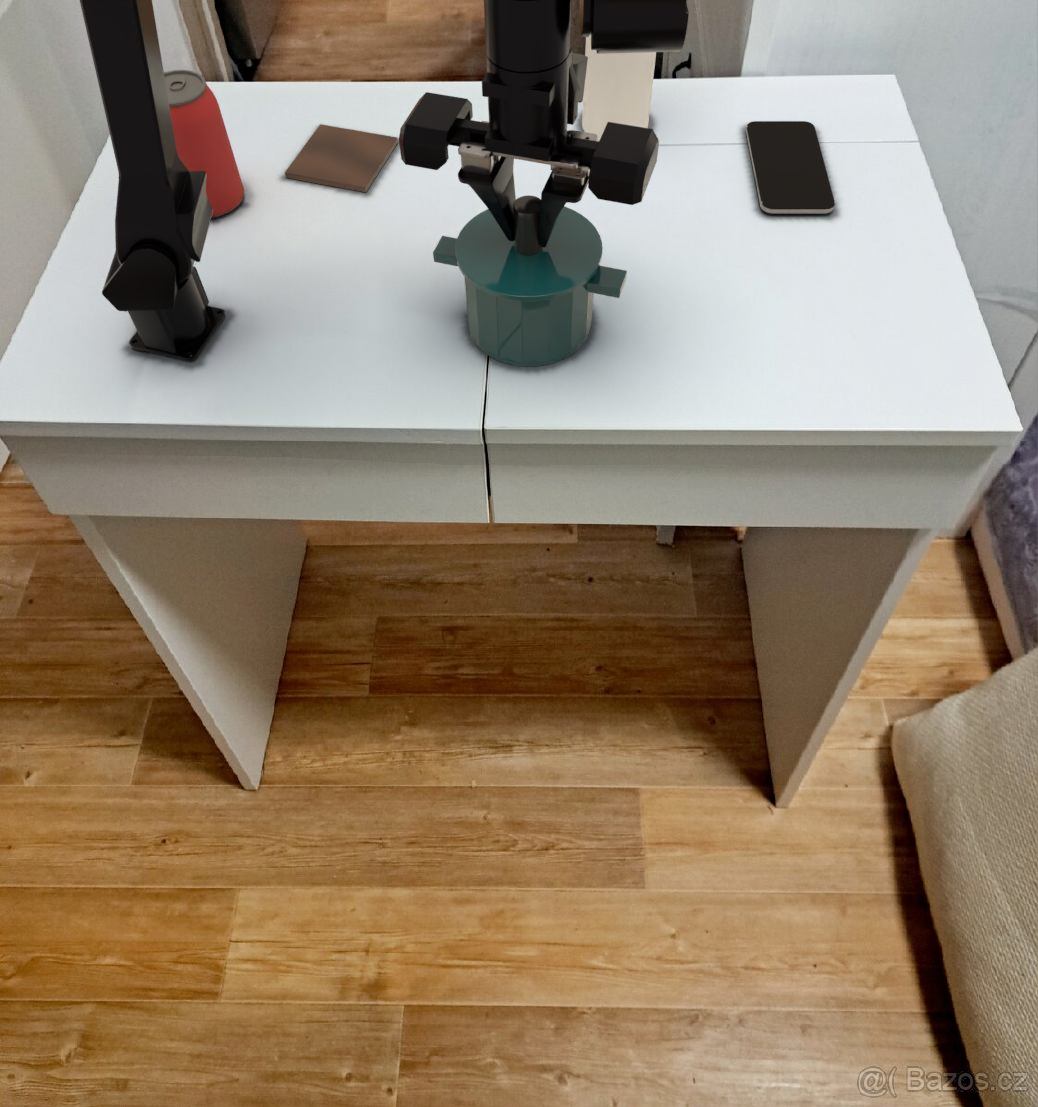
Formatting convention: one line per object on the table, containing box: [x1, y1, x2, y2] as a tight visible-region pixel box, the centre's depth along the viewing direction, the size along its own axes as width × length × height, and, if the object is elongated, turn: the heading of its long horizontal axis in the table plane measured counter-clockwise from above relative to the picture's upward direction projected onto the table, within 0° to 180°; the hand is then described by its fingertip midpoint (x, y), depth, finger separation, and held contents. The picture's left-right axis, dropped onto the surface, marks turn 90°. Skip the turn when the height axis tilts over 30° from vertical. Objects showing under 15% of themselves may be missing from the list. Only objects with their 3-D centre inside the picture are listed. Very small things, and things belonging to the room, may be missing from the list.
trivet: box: [284, 124, 399, 193], centre depth 97 cm, size 9×9×1 cm
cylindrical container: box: [581, 35, 657, 141], centre depth 89 cm, size 7×7×25 cm
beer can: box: [164, 69, 245, 218], centre depth 89 cm, size 7×7×12 cm
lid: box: [455, 194, 604, 301], centre depth 75 cm, size 12×12×5 cm
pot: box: [432, 235, 628, 367], centre depth 80 cm, size 11×16×8 cm
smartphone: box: [745, 120, 836, 215], centre depth 95 cm, size 7×1×15 cm
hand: (528, 241), depth 76 cm, fingers closed on lid, 2 cm apart
